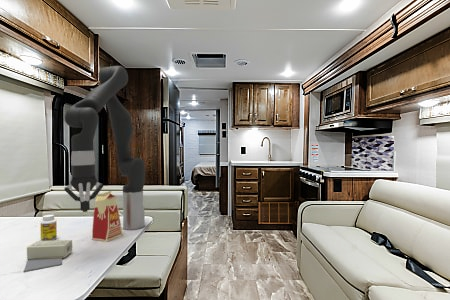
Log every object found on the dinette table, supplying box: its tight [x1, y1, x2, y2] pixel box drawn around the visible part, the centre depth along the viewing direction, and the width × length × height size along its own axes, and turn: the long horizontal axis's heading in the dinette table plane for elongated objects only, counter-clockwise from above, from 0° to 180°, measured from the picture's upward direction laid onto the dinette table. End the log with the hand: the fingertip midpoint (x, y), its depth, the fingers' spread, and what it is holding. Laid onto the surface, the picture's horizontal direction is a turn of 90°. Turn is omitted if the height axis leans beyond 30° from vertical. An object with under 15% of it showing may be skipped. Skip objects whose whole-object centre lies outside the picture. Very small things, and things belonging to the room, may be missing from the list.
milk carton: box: [91, 190, 124, 243], centre depth 114 cm, size 9×9×20 cm
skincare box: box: [26, 239, 73, 260], centre depth 95 cm, size 6×4×12 cm
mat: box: [23, 258, 63, 273], centre depth 91 cm, size 10×13×1 cm
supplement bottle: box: [40, 214, 58, 241], centre depth 111 cm, size 6×6×10 cm
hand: (85, 211), depth 97 cm, fingers closed
